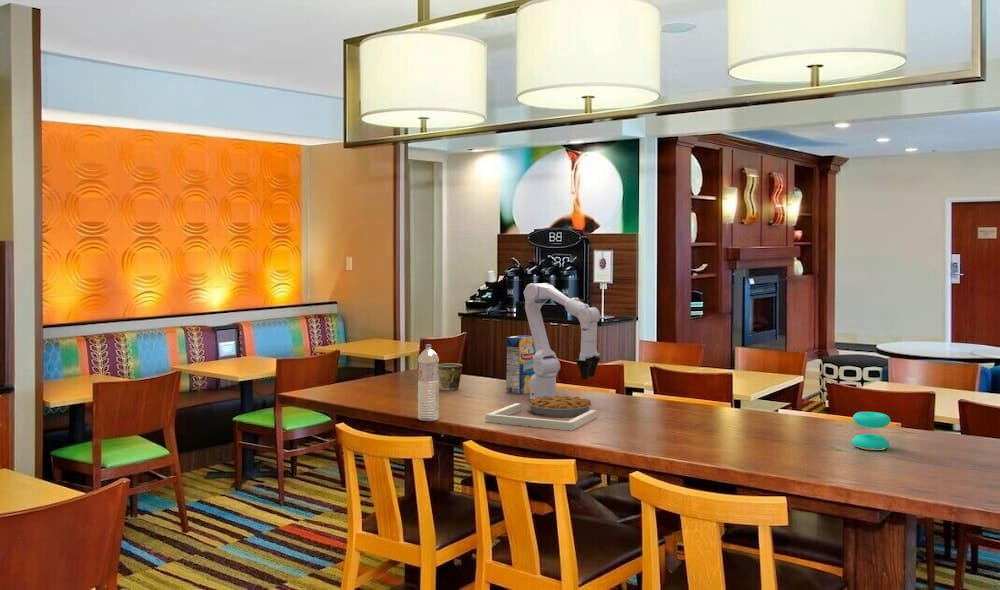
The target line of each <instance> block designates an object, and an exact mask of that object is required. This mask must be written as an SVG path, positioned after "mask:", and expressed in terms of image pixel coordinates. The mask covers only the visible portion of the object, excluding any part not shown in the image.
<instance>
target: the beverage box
mask: <svg viewBox="0 0 1000 590" xmlns="http://www.w3.org/2000/svg"><path fill="white" fill-rule="evenodd" d="M535 353H536V350H535V346H534V342H533V338H532V335H525V334H524V335H515V336H506V360H505V361H506V363H505V365H506V369H505V372H506V377H505V379H506V381H505V382H506V385H505V387H506V388H505V389H506V391H505V393H506V394H512V395H525V394H530V380H531V377H532V376H533V375H536V374H535V372H534V370H533V356H534V355H535Z"/></svg>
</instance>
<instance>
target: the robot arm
mask: <svg viewBox="0 0 1000 590" xmlns="http://www.w3.org/2000/svg"><path fill="white" fill-rule="evenodd" d="M523 296H524V300H525V301H524V310H525V313H526V317H527V321H528V325H529V330H530V333H531V336H532V338H533V342H534V346H535V350H536V353H535V355H534V356H533V370H534V372H535V374H536V375H533V376H532V377H531V380H530V393H529V400H531V399H535V398H536V397H540V398H541V397H543V396H547V397H553V396H557V375H558V373H559V372H560V370H561V363H560V360H559V359H558V357H557V355H556V354H557V353H556V352H554V351H553V350H552V349H551V347H550V343H549V339H548V335H547V331H546V328H545V323H544V319H543V315H542V312H541V308H542V306H544V304H545V303H546V302H548V300H552V301H554V302H556V303H558V304H559V305H562V306H564V309H565V311H566V312H568V313H569V314H570V315H572V316H573V317H575V318H577V320H578V321H579V324H580V325H579V326H580V352H579V355H578V356H579V358H577V359H576V360H575V363H576V364H577V367H578V369H579V372H580V373H579V374H580V379H581V380H584V381H588V379H589V378H594V377H595V376H596V372H597V368H598V364H599V362H600V360H601V357H600V355H601V353H600V352H598V350H597V346H598V345H597V343H598V342H597V340H598V322H600V320H601V312H600V310H599V309H598V308H597V307H596V306H592V307H590V306H589V304H587V303H584V302H582V301H581V300H580V298H579V297H568V296H567V295H566V294H564V293H563V292H561V291H559V290H558V289H557V288H555V287H554V285H552V284H550V283H548V282H542V283H534V282H533V283H532V282H531V283H528V284H527V285H526V287H525V289H524V290H523Z"/></svg>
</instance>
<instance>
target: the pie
mask: <svg viewBox="0 0 1000 590" xmlns="http://www.w3.org/2000/svg"><path fill="white" fill-rule="evenodd" d="M527 405H528V406H529V407H530V409H531V412H532V413H533V412H534V413H533V414H535V413H536V415H539V414H540V415H539V416H543V415H544V416H545V417H551V418H552V417H553V418H572V417H573V418H575V417H578V416H580V415H582V414H584V413H586V412H588V411H590V410H589V409H590V407H592V405H593V404H592V401H590V399H587V398H580V397H579V396H575V397H574V396H568V395H564V396H563V395H562V396H560V395H556V396H553V397H547V396H543V397H541V398H540V397H536V398H535V399H529V400H528V402H527ZM544 416H543V417H544Z"/></svg>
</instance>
